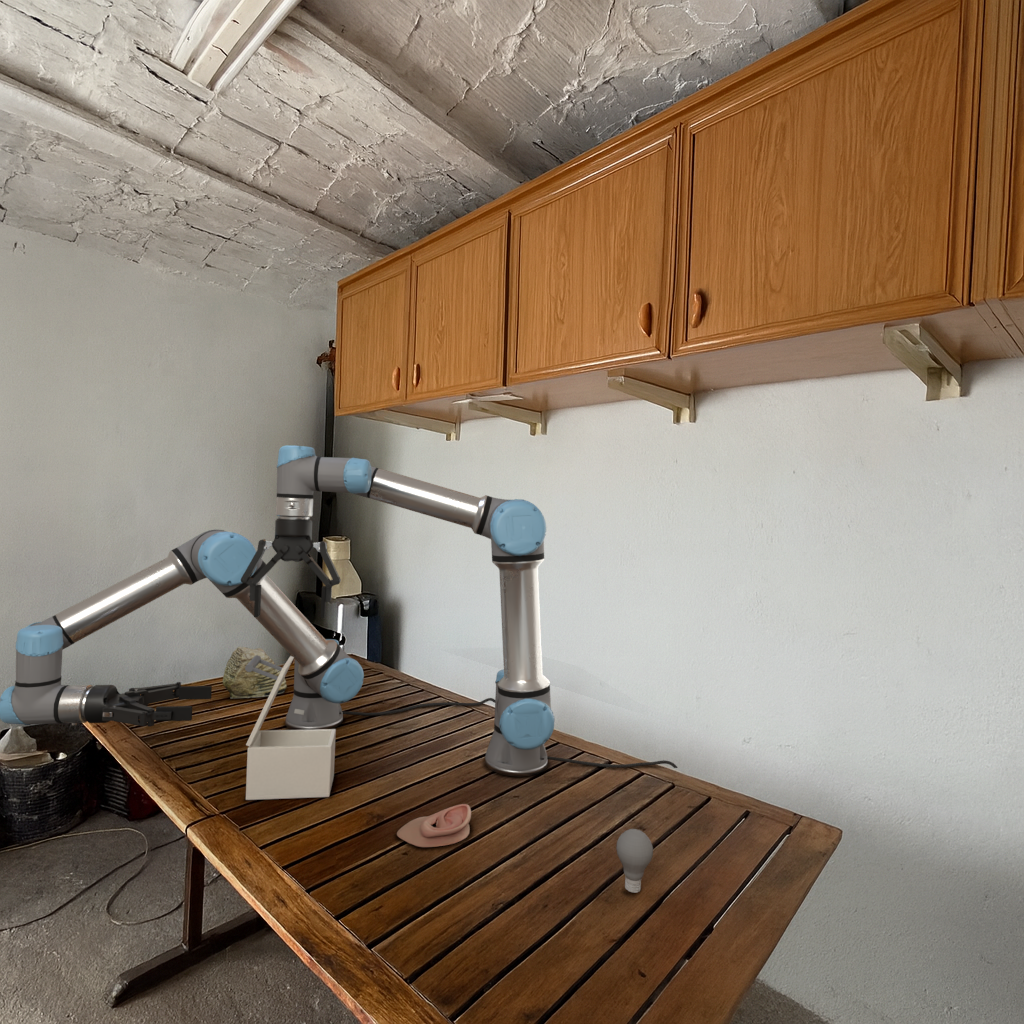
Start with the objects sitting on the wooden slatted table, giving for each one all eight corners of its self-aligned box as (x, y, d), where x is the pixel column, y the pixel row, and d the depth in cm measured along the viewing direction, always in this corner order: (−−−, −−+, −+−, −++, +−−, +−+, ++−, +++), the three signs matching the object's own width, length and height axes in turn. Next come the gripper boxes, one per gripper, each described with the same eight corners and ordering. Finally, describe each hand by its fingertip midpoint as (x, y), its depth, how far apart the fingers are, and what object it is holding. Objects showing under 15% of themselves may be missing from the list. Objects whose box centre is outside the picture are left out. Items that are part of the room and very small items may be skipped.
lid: (294, 657, 142) (260, 643, 140) (286, 669, 132) (250, 655, 130) (260, 728, 141) (226, 716, 139) (249, 746, 131) (212, 733, 129)
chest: (333, 776, 144) (335, 728, 144) (329, 796, 134) (331, 746, 134) (256, 778, 141) (258, 730, 141) (245, 800, 131) (247, 748, 131)
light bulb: (610, 879, 108) (613, 822, 108) (644, 879, 109) (647, 822, 109) (619, 902, 102) (622, 840, 102) (655, 901, 103) (658, 840, 103)
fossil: (218, 695, 195) (220, 647, 195) (278, 685, 208) (279, 640, 207) (228, 703, 189) (230, 653, 188) (289, 692, 201) (290, 645, 201)
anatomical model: (391, 821, 117) (413, 793, 128) (390, 842, 117) (412, 813, 128) (460, 832, 114) (476, 802, 125) (459, 853, 114) (475, 822, 126)
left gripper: (116, 702, 142) (217, 701, 146) (58, 745, 118) (181, 742, 121) (117, 669, 142) (218, 668, 146) (59, 705, 117) (182, 703, 121)
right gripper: (227, 516, 130) (224, 619, 130) (352, 520, 135) (348, 620, 135) (236, 515, 137) (233, 612, 138) (354, 519, 142) (351, 613, 142)
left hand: (202, 702), depth 134 cm, fingers open, 13 cm apart
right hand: (290, 616), depth 136 cm, fingers open, 13 cm apart
